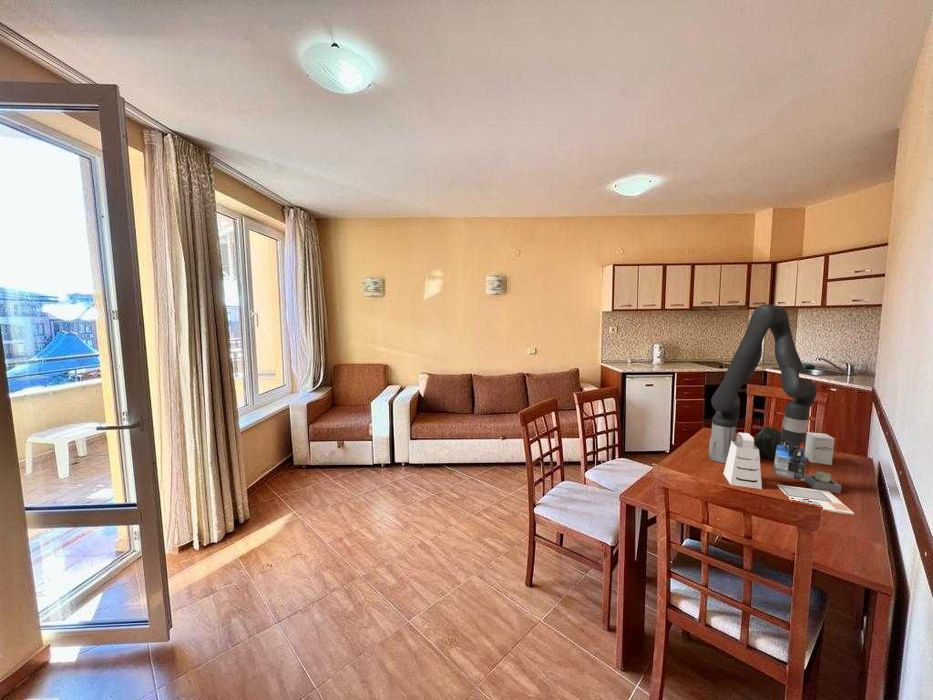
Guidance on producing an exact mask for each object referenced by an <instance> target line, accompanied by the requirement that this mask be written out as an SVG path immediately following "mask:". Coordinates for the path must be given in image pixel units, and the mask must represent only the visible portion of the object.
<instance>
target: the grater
mask: <svg viewBox="0 0 933 700" xmlns="http://www.w3.org/2000/svg"><path fill="white" fill-rule="evenodd" d="M760 457H761V455H760V454H759V449H758V448H757V447H756V446H755V445H754V437H753V436H752V435H751V434H750V433H748V432H736V440H735V441H731V445H730V449H729V453H728V457H727V461H726V463H725V464H724V465H725V466H724V470H723V476H724V477H725V478H726V480H727V482H728V484H729V485H731V486H737V487H744V488H751V489H759V490H763V487H762V486H763V484H762V474H761V472H762V471H761V458H760ZM753 481H754V482H753Z"/></svg>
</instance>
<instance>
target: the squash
mask: <svg viewBox="0 0 933 700" xmlns="http://www.w3.org/2000/svg"><path fill="white" fill-rule="evenodd" d="M753 438H754V445H755V446H756V447H757V448H758V449H759V456H760V457H763V458H768V459H769V460H775V454H776V450H777V445H782V444H781V440H782V439H783V438H781V431H779V430H777V429H775V428H773V427H771V426H765V427H763V428H762V429H761V430H760V431H759V432H758V433H756V435H754V437H753Z"/></svg>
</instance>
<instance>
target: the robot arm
mask: <svg viewBox="0 0 933 700" xmlns="http://www.w3.org/2000/svg"><path fill="white" fill-rule="evenodd" d="M768 330H770V332H771V333H772V335H773V339H774V340H773V341H774V356H775V359H776V362H777V366H778V367H779V370H780V372H781V373H780V374H781V376H780V379H781V386H782V387H781V388H782V389H783V392H784V393H785V394H786V395H787V397H790V398H792V400H791V401H789V402H787V403H786V404H785V409H784V416H783V419H782V425H781V431H780V432H781V438H783V439H782V440H781V444H782V445H784V446H785V448H784V452H787V455H788V456H789V464H788V471H790V472H795V471H796V463H797V464H800V462H801V459H802V456H803V451H800V448H801V444H803V443H806V437H807V432H808V428H809V415H810V409H811V407H812V405H813V403H814V401H815V399H816V397H817V393H818V388H817V385H816V383H815V382H814V381H812V380H811V379H807V378H805V379H803V378H802V379H800V374H801V373H802V372H804V364H803V362H802V361H801V358H800V356H799V353H798V350H797V348H796V344H795V343H794V342H795V341H794V338H793V335H792V330H791V326H790V320H789V315H788V312H787V310H786V309H785V308H784V307H783V306H781V305H776V304H761V305H759V306H757V307H756V308H755V309H754V310H753V311H752V314H751V316H750V319H749V322H748V324H747V327H746V330H745V333H744V335H743V337H742V339H741V341H740V343H739V345H738V347H737V350H736V351H735V353H734V355H733V357H732V359H731V361H730V364H729V365H728V368H727V370H726V372H725V374H724V377H723V380H722V381H721V382H720V385H719V386H718V387H717V389H716V390H715V392H714V394H713V395H712V397H711V400H710V401H711V402H710V403H711V406H712V408H713V410H715V414H714V415H713V417H712V421H711V423H712V424H711V435H710V436H709V445H708V446H709V448H708V457H709V458H710V460H711V461H713V462H714V461H715V462H716V463H717V462H718V463H721V464H726V461H727V457H728V453H729V449H730V445H731V441H736V436H737V424H738V423H737V422H738V421H739V417H740V410H741V398H740V396H739V395H738V393H739V391H740V389H741V388H742V387H743V385H745V383H746V382H747V381H748V380H749V378H750V377H752V375H753V374H754V372H755V371H756V369H757V367H758V366H759V364H760V362H761V360H762V357H763V341H764V338H765V335H766V334H767V333H768ZM791 454H793V455H791Z"/></svg>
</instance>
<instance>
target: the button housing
mask: <svg viewBox="0 0 933 700" xmlns="http://www.w3.org/2000/svg"><path fill="white" fill-rule="evenodd" d="M803 481H804V482H805V483H806V484H807V485H808V486H809V487H810V488H811V489H815V490H822V491H829V492H830V493H835V494H841V493H842V485H841V484H840V483H838V482H837V481H835V479H833V478H832V477H831V480H830V483H823V482H817V481H816V480H815V474H808V473H805V474H804V480H803Z"/></svg>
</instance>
